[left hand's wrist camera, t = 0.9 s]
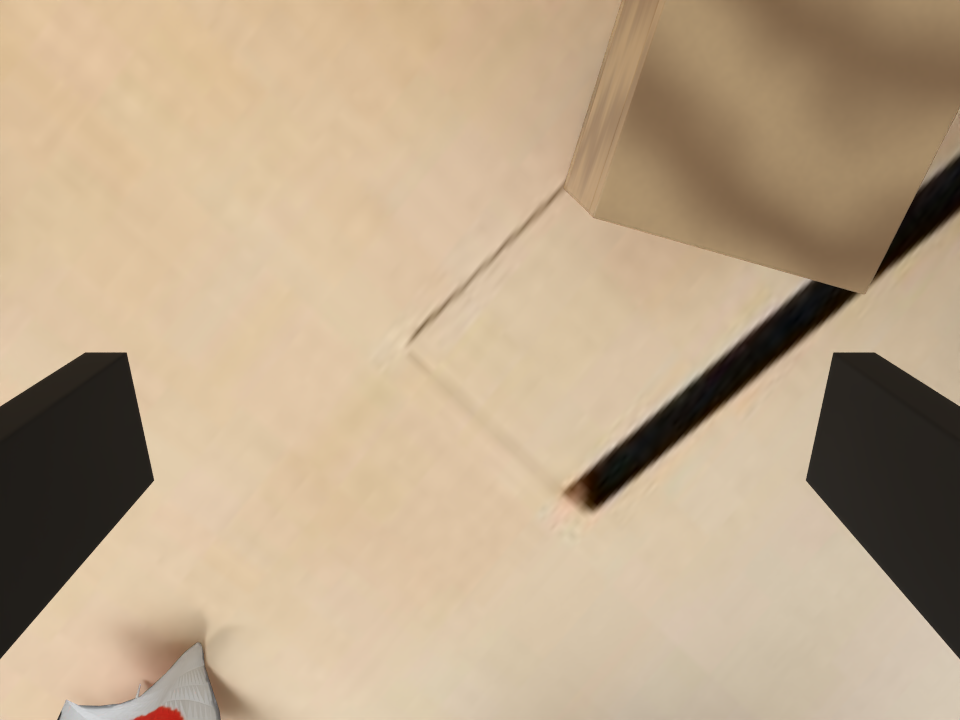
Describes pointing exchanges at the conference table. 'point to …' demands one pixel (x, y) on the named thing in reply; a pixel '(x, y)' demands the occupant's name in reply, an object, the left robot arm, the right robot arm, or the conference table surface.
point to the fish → (161, 696)
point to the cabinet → (770, 126)
